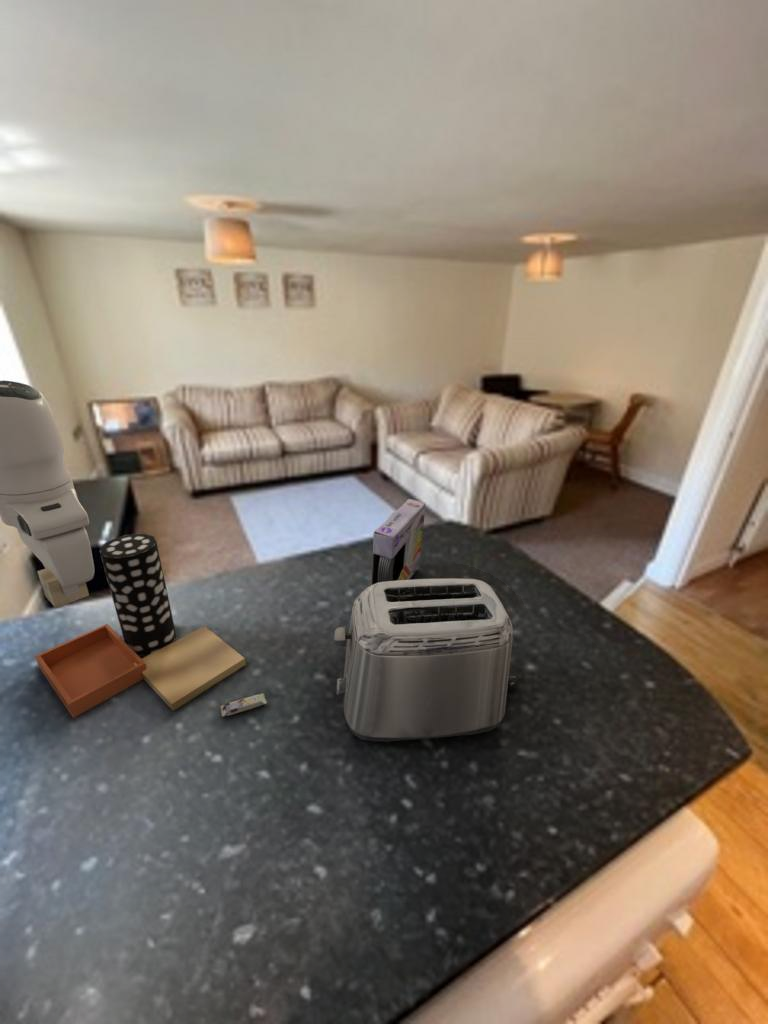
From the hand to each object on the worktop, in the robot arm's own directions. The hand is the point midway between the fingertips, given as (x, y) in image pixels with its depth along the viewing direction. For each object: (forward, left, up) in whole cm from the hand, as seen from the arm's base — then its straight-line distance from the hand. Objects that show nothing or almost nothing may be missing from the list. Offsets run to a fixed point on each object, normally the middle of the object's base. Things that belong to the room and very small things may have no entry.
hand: (64, 586), depth 68 cm
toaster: (+46, +32, -18) cm, 59 cm away
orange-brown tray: (0, 0, -17) cm, 17 cm away
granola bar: (+25, +12, -17) cm, 33 cm away
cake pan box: (+22, +54, -18) cm, 61 cm away
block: (0, 0, -2) cm, 2 cm away
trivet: (+11, +11, -17) cm, 24 cm away
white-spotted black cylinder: (-1, +10, -18) cm, 20 cm away
